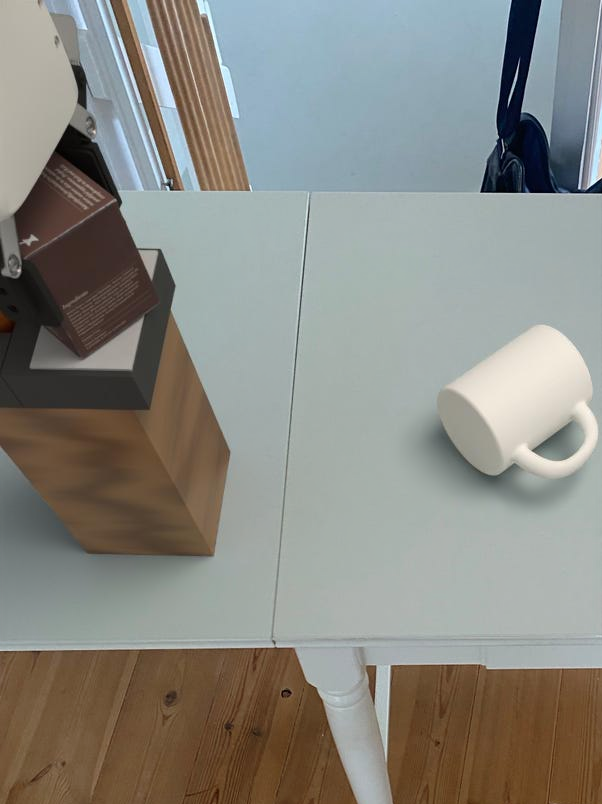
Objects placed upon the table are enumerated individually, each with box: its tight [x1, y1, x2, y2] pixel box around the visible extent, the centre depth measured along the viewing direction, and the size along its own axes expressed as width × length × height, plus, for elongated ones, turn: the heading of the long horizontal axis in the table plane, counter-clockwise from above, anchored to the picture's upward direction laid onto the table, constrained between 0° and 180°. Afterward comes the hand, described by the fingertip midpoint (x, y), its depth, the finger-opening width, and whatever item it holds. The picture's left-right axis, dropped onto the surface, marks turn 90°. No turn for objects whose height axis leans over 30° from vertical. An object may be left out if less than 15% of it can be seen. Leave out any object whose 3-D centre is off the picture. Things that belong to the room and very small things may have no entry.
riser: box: [0, 310, 231, 557], centre depth 63 cm, size 10×10×18 cm
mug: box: [436, 324, 599, 480], centre depth 70 cm, size 12×10×8 cm
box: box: [14, 151, 160, 358], centre depth 49 cm, size 6×6×7 cm
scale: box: [0, 247, 177, 410], centre depth 53 cm, size 12×10×3 cm
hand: (66, 259), depth 49 cm, fingers closed on box, 8 cm apart
